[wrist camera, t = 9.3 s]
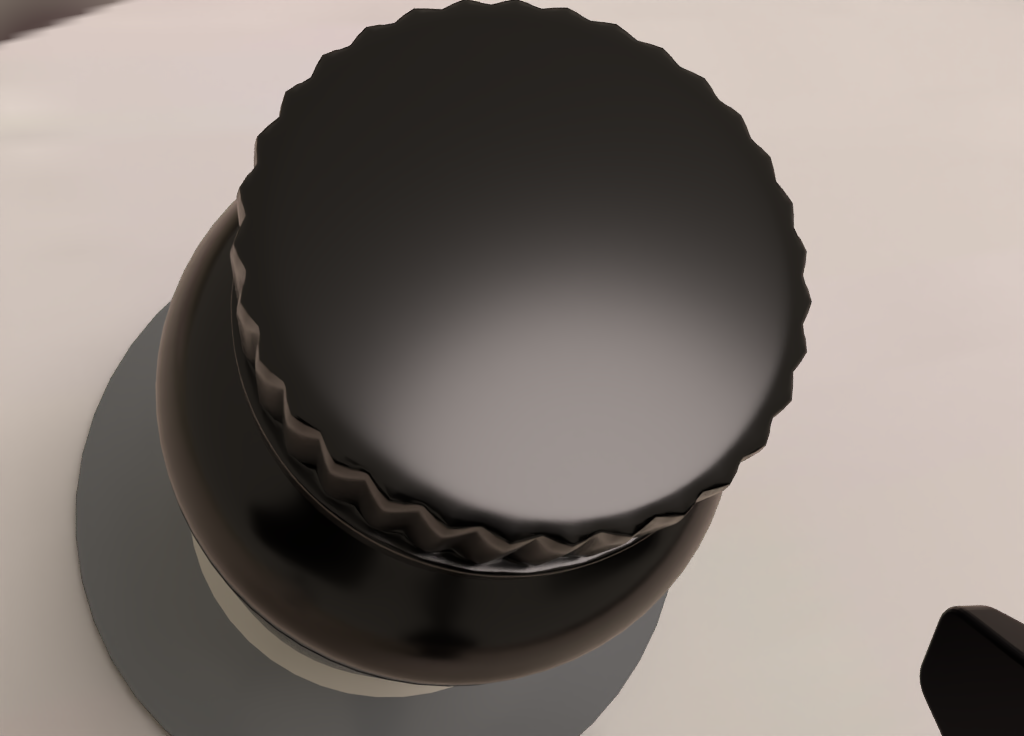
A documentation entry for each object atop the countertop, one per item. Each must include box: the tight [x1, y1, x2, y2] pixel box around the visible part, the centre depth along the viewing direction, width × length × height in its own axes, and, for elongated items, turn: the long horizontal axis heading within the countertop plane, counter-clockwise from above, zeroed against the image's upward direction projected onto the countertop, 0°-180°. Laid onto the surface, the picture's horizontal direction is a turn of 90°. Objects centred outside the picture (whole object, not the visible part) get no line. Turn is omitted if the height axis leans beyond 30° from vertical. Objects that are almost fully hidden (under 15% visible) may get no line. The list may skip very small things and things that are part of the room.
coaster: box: [76, 301, 668, 736], centre depth 19 cm, size 12×12×1 cm
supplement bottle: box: [155, 0, 812, 687], centre depth 13 cm, size 7×7×12 cm
